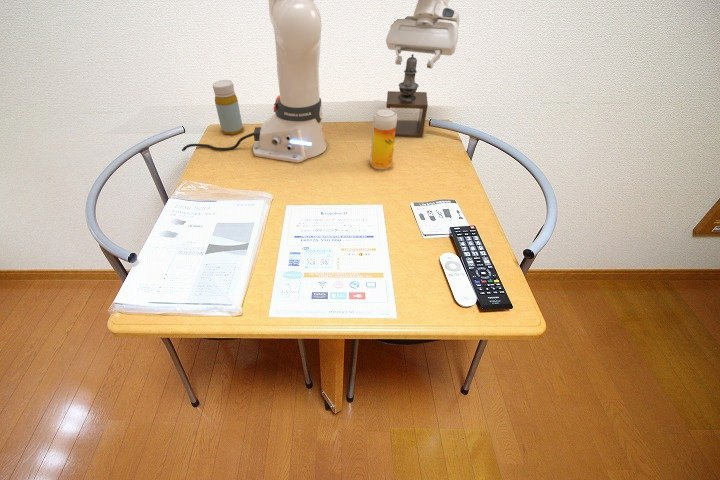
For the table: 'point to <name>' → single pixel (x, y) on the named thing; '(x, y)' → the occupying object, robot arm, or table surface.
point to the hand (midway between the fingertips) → (413, 65)
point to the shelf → (419, 103)
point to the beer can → (383, 138)
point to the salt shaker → (409, 81)
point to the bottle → (227, 107)
